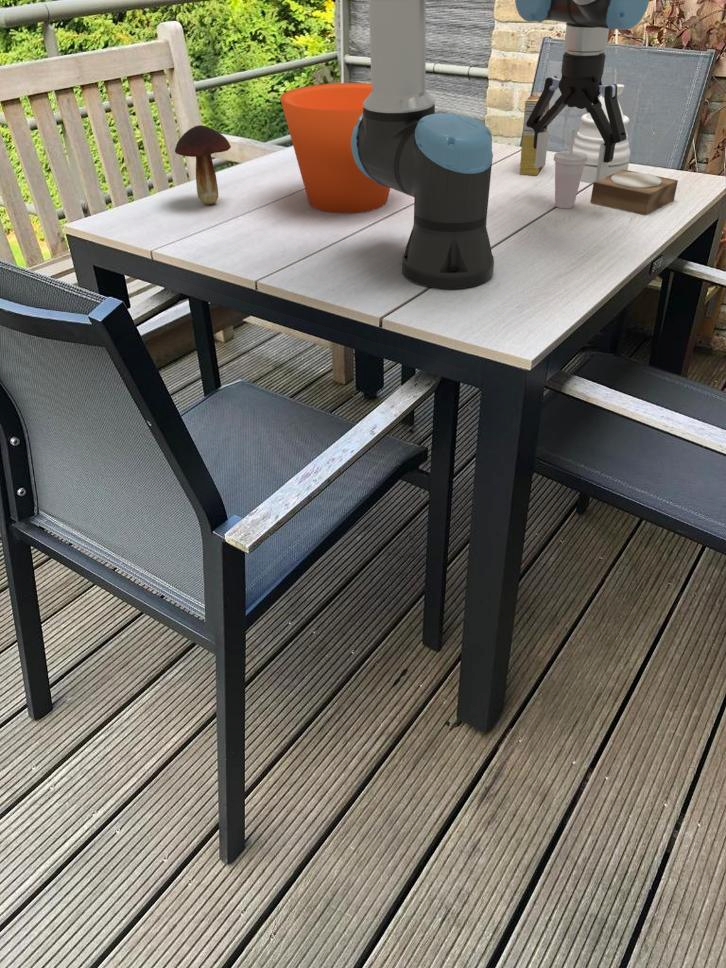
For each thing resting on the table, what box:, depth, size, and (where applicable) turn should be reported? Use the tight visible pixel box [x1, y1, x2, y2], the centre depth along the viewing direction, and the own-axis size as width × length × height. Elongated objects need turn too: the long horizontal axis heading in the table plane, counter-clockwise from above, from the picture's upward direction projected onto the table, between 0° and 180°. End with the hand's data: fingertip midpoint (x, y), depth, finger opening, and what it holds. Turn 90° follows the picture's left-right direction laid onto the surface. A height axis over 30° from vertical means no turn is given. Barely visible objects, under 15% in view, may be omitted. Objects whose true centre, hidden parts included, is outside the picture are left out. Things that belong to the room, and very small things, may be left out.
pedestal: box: [590, 169, 679, 216], centre depth 165 cm, size 12×12×4 cm
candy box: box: [519, 92, 550, 177], centre depth 181 cm, size 9×4×15 cm, turn 160°
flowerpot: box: [279, 82, 391, 214], centre depth 163 cm, size 25×25×20 cm
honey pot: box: [573, 83, 631, 184], centre depth 176 cm, size 13×13×18 cm
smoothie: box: [553, 129, 588, 209], centre depth 161 cm, size 6×6×14 cm
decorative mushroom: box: [174, 125, 232, 205], centre depth 164 cm, size 11×11×15 cm
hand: (569, 172), depth 161 cm, fingers open, 13 cm apart
